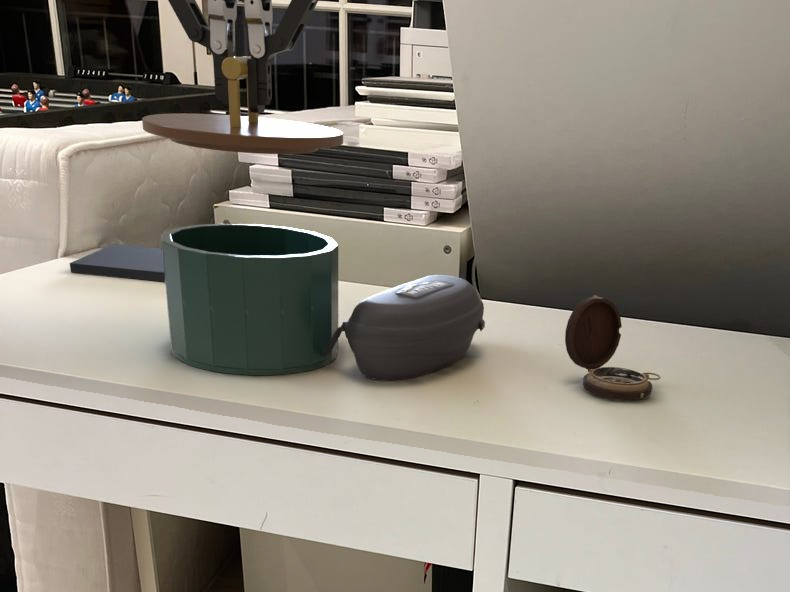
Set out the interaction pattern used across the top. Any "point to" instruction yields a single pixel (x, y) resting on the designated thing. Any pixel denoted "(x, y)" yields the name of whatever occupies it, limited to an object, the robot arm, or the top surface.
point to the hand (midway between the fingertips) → (244, 109)
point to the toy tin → (251, 297)
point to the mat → (123, 263)
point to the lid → (241, 126)
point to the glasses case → (413, 327)
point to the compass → (602, 351)
